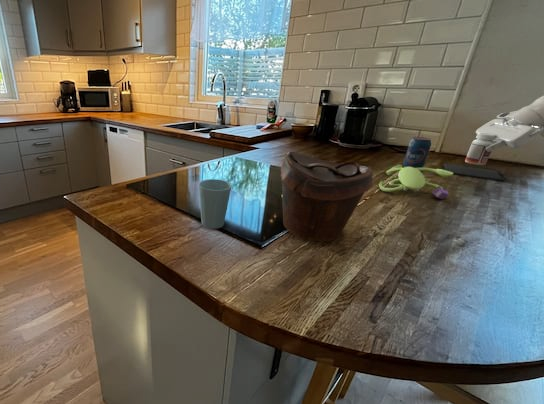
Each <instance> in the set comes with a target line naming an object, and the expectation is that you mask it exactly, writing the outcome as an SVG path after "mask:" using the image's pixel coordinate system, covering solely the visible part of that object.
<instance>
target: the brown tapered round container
mask: <svg viewBox="0 0 544 404" xmlns="http://www.w3.org/2000/svg"><path fill="white" fill-rule="evenodd" d="M279 177H280V179H281V198H282V199H281V200H282V223H283V227H284V228H285V229H286V230H287V231H288V232H289V233H291V234H292V235H295V236H296V237H299V238H301V239H303V240H304V239H305V240H307V241H311V242H330V241H331V242H332V241H335V240H337V239H339V238H340V237H341V235H342V233H343V231H344V229H345V228H346V226H347V224H348V222H349V220H350V219H351V217H352V215H353V214H354V212H355V210H356V208H357V206H358V205H359V203H360V201H361V199H362V198H363V196H364V194H365V192H368V190H370V189H371V188H372V187H373V185H374V183H373V170H372V168H371V167H369V166H366V165H360V164H359V163H358V162H356V161H346V162H344V163H338V162H333V161H327V160H323V159H320V158H317V157H314V156H309V155H306V154H303V153H300V152H296V151H291V150H290V151H287V153H285V155H284V158H283V162H282V164H281V167H280V176H279Z"/></svg>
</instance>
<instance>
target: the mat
mask: <svg viewBox="0 0 544 404" xmlns="http://www.w3.org/2000/svg"><path fill="white" fill-rule="evenodd" d="M443 167H444V170H446V171H450V172H453V173H454V174H453V175H457V176H462V177H463V176H464V177H472V178H476V179H477V178H478V179H485V180H492V181H499V182H504V181H505V179H504V178H503V177H502V176H501V175H500V174H499V173H498V171H497V170H493V169H486V168H478V167H472V166H466V165H465V166H464V165H456V164H451V163H443Z"/></svg>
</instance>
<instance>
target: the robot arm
mask: <svg viewBox="0 0 544 404" xmlns="http://www.w3.org/2000/svg"><path fill="white" fill-rule="evenodd" d="M474 133H475V135H477V134H478V133H490V134H494V135H496V136H495V140H492V141H493V142H494V144H492V145H488V146H486V147H484V149H485V151H487V152H490V151H491V152H493V151H494V150H497V149H501V148H503V147H509V148H512V149H517V148H520V147H523V146H524V145H525V144H527V143H529V142H530V141H532V140H533V139H535V138H536V137H537V136H538V134H539V135H540V136H542V137H544V95H542V96H540V97H538V98H536V99H535V100H533V102H532V103H530V104H528V105H526V106H523V107H522V108H519V109H518V110H514V111H510V112H503V113H499V114H498V115H496V118H494V119H492V120H490V121H488V122H486V123H484V124H483V125H482V126H480V127H478V128H477V129H476V130H475V132H474ZM471 144H472V142H471V143H470V145H471Z"/></svg>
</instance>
